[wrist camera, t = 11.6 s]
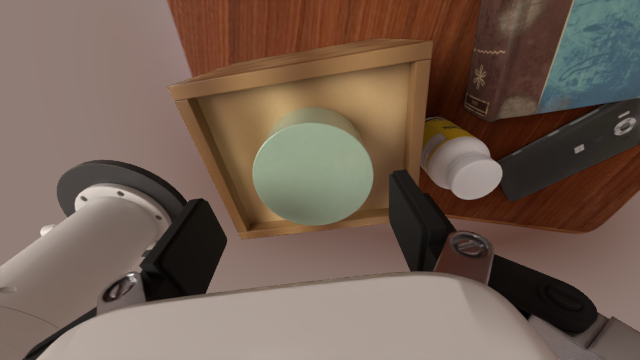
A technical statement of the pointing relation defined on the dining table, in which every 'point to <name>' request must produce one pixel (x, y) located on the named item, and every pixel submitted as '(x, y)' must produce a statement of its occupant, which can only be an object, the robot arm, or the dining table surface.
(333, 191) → the disc
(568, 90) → the book
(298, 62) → the open wooden box
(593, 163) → the smartphone
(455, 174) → the supplement bottle
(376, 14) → the dining table surface
